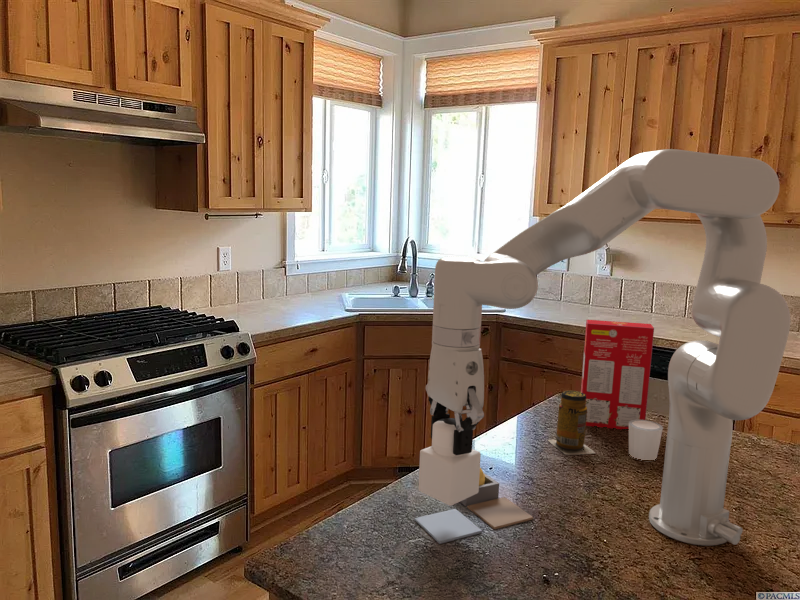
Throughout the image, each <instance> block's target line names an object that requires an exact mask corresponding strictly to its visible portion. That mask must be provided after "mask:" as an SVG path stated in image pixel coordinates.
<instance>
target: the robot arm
mask: <svg viewBox="0 0 800 600" xmlns="http://www.w3.org/2000/svg"><path fill="white" fill-rule="evenodd" d="M779 193H780V179H779V176H778V174H777V173H776V171H775V169H774V168H772V166H770V165H769V164H768V163H767V162H765V161H764V160H763V161H762V160H761V159H759V158H753V157H746V156H739V155H738V156H736V155H727V154H726V155H725V154H720V153H719V154H717V153H710V152H701V151H694V150H687V149H686V150H684V149H678V148H677V149H676V148H675V149H673V148H666V149H665V148H663V149H658V150H652V151H643V152H640V153H638V154H635V155H633V156H632V157H630V158H629V159H627V160H625V161H624V162H622V163H621V164H619V166H617V167H616V168H615V169H613V170H611V171H610V172H608V173H607V174H606V175H605V176H603V177H602V178H600V179H599V180H598V181H597V182H595V183H594V184H592V185H591V186H590V187H589V188H587V189H586V190H585V191H583V192H581V193H580V194H578V196H576V197H575V198H573V199H572V200H571V201H569V202H567V203H566V204H565V205H563V206H562V207H560V208H558V209H556V210H555V211H553V212H551V213H550V214H549V215H547V216H546V217H544V218H542V219H541V220H540V221H537V222H536V223H534V224H532V225H531V226H529V227H528V228H526V229H524V230H523V231H521V232H519V233H518V234H517V235H515V236H514V237H512V238H511V239H510V240H509V241H507V242H506V243H504V244H503V245H501V246H500V247H499V248H497V249H496V250H495V251H494V252H492V253H490V254H489V256H488V257H486V258H485V259H484V260H483V261H481V260H480V259H477V258H475V257H467V256H447V257H446V256H444V257H441V258H439V259H438V260H437V261H436V263H435V266H434V267H435V268H434V285H433V286H434V287H433V288H434V289H433V307H432V308H433V309H432V310H433V311H432V312H433V313H432V317H433V318H432V330H431V334H432V335H431V350H430V357H429V365H428V375H427V384H426V385H425V391H426V394H427V396H428V402H429V405H430V409H429V412H430V415H431V421H430V422H431V424H430V426H431V427H430V438H431V440H432V431H433V424H434V423H435V422H436V421H437V420H440V419H444V418H451V415H450V413H448V411H449V410H450V411H452V412H454V413H453V414H454V418H455V420H456V427H457V430H454V441H453V454H455V455H461V454H467V453H471V452H472V449H473V438H474V436H473V435H474V430H475V429H476V428H477V425H479V422H480V421H481V420H482V419H483V418H484V417H485V412H484V411H483V407H484V403H485V401H484V400H485V371H484V370H485V369H484V367H485V366H484V358H483V352H482V348H480V346H481V332H482V315H483V313H482V312H483V306H487V307H494V308H500V309H506V310H515V309H520V308H523V307H525V306H527V305H529V304H530V303H531V302H532V301H533V300H534V299H535V297H536V294H537V292H538V288H539V281H538V278H537V275H539V274H540V273H542V272H544V271H545V270H547V269H548V268H550V267H552V266H553V265H555V264H558V263H560V262H562V261H565V260H567V259H572V258H575V257H580V256H584V255H587V254H590V253H593V252H596V251H598V250H600V249H601V248H604V246H606V245H607V244H608V243H609V242H611V241H612V240H614V239H615V238H616V237H618V236H620V235H621V234H622V233H624V232H625V231H626V230H627V229H629V228H630V227H632V226H633V225H634V224H636V223H637V222H638V221H640V220H642V219H643V218H645V216H647V215H649V213H651V212H653V211H654V210H657V209H658V210H668V211H670V210H671V211H676V212H683V213H691V214H695V215H696V216H697V218H698V219H699V221H700V223H701V224H702V227H703V229H704V233H705V250H704V257H703V261H702V264H701V269H700V272H699V277H698V280H697V285H696V288H695V291H694V295H693V296H694V297H693V301H692V305H691V316H692V319H693V321H694V323H695V324H696V325H697V327H698V328H700V329H701V330H703V331H705V332H707V333H709V334H711V335H713V336H715V337H717V338H719V342H718V343H716V342H714V341H713V342H712V341H709V340H703V339H701V340H700V339H697V340H696V339H695V340H691V341H688V342H685V343H684V344H682V345H680V346H679V347H678V348H677V349H676V350H674V353H673V354H672V356H671V358H670V361H669V363H668V367H667V368H668V370H667V382H668V383H667V384H668V398H669V399H668V400H669V405H668V406H669V410H668V411H669V412H668V424H667V433H666V441H665V442H666V443H665V452H664V459H663V460H664V462H663V463H664V464H663V471H662V480H661V481H662V482H661V492H660V500H659V501H660V502H659V503H658V504H656V505H654V506H652V507H651V508H650V509H649V512H648V520H649V522H650V524H651V525H652V526H653V528H655V529H656V530H657V531H658V532H660V533H661V534H663V535H665V536H667V537H669V538H671V539H674V540H676V541H680V542H683V543H687V544H691V545H695V546H718V545H722V544H725V543H727V542H728V543H730V544H731V545H733V546H734V545H737V544H739V542H740V541H741V535H742V534H743V528H742V527H741V526H739V525H737V524H735V523H732V522H731V521H730V510H728V509H726V508H724V506H725V505H724V504H725V499H726V498H725V496H726V490H727V488H726V487H727V481H728V480H727V479H728V470H729V463H730V461H729V460H730V453H731V447H732V439H733V420H734V421H744V420H749V419H751V418H753V417H755V416H758V414H759V413H761V411H763V409H765V407H766V405H767V404H768V403H769V402H770V399H771V398H772V397H771V396H772V394H773V392H774V389H775V385H776V382H777V379H778V375H779V371H780V368H781V364H782V360H783V357H784V353H785V350H786V345H787V343H788V338H789V335H790V331H791V313H790V308H789V306H788V305H789V304H788V303H787V301H786V299H785V297H784V296H783V295H782V294H781V293H780V292H779V291H778V290H777V289H774V288H773V287H771V286H769V285H766V284H763V283H761V280H762V277H763V272H764V271H763V270H764V266H765V265H764V264H765V260H766V257H767V256H766V255H767V252H768V251H767V250H768V249H767V248H768V236H767V232H766V231H767V230H766V227H765V223H764V221H763V219H762V216H761V215H763V214H764V213H766V212H768V210H769V209H771V208H772V207H773V205H774V204H775V203H776V200H777V199H778V196H779ZM464 407H466V409H463V408H464ZM465 414H466V417H465V419H463V416H462V415H465Z"/></svg>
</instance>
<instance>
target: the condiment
mask: <svg viewBox="0 0 800 600" xmlns="http://www.w3.org/2000/svg"><path fill="white" fill-rule="evenodd" d="M585 405H586V395H585V394H584V393H582V392H581V391H577V390H564V391H563V392H561V397H560V403H559V404H558V410H557V424H556V437H555V439H547V441H548V442H549V443H550V444H551V445H552V446H554V448H556V449H558V450H559V451H560V452H561V453H563V455H567V456H575V455H582V456H583V455H589V454H590V455H591V454H596V452H595V451H594V450H593V449H592V448H590V447H589V446H587V445H586V444H585V438H586V429H587V426H586V418H587V407H586V406H585ZM583 449H584V450H583ZM581 450H582V451H581Z"/></svg>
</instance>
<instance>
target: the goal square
mask: <svg viewBox="0 0 800 600" xmlns="http://www.w3.org/2000/svg"><path fill="white" fill-rule="evenodd" d="M414 521H415V522H416V523H417V524H418V525H419V527H421V528H422V529H423V530H424V531H425V532H426V533H427V534H428V535H430V536H431V537H432V538H433V540H435V541H436V542H437V543H438V544H439V545H440V544H445V543H447V542H452V541H457V540H459V539H463V538H468V537H470V536H474V535H478V534H482V533H483V532H482V531H483V530H482V529H481V528H480V527H478V526H477V525H476V524H475V523H473V522H472V521H471V520H470V519H469V518H467V516H465V515H464V514H463V513H461V512H460V511H459V510H457V509H456V508H453V509H452V508H451V509H448V510H444V511H439V512H435V513H431V514H427V515H423V516H418V517H415V518H414Z"/></svg>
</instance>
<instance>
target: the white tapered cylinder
mask: <svg viewBox="0 0 800 600" xmlns="http://www.w3.org/2000/svg"><path fill="white" fill-rule="evenodd" d="M663 429H664V427H663V425H662V424H660V423H659V422H656V421H652V420H648V419H645V420H632V421H629V430H628V455H629V454H630V455H631V456H632V457H631V456H630V455H629V456H630V457H631V458H633V457H634V458H633V459H635V458H637V459H636V460H638V459H641V460H640V461H642V460H654V461H656V460H657V459H656V458H657V457H658V453H659V450H660V449H659V448H660V445H661V438H662V434H663ZM655 459H656V460H655Z"/></svg>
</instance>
